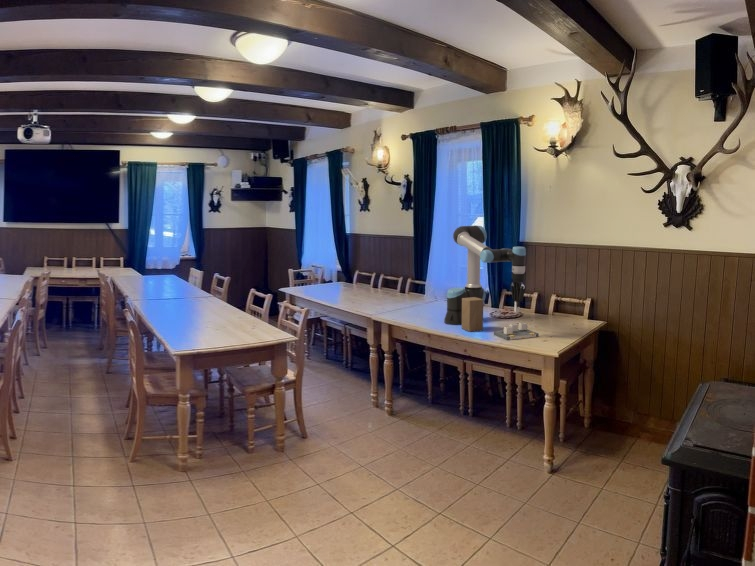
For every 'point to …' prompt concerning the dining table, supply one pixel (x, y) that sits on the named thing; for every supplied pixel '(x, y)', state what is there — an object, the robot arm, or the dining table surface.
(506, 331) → the slider
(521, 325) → the slider
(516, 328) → the slider
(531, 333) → the console
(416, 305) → the dining table surface
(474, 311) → the wooden block
